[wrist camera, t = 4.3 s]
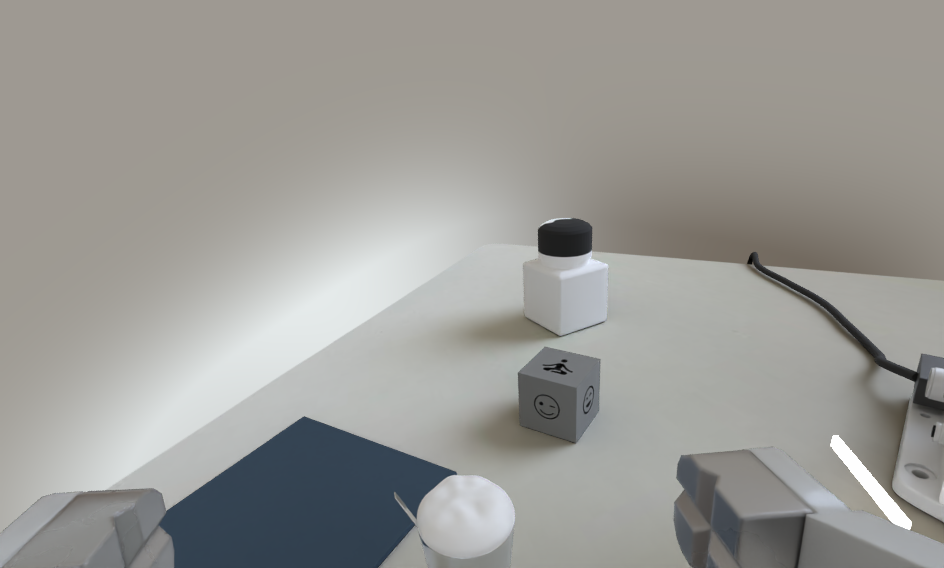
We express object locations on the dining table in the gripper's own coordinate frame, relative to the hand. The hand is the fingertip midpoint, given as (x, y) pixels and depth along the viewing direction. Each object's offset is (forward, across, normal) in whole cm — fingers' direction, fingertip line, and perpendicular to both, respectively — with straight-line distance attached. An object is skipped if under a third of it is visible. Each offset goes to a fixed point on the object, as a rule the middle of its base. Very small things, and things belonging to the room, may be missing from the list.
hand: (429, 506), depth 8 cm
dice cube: (+32, -10, +17) cm, 38 cm away
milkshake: (+14, -1, +19) cm, 24 cm away
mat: (+23, +12, +19) cm, 32 cm away
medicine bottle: (+52, -15, +15) cm, 56 cm away
